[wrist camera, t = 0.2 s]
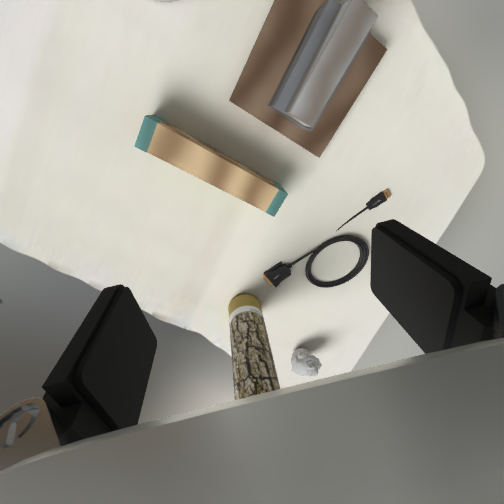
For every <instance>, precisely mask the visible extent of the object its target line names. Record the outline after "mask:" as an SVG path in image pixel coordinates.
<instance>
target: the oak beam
mask: <svg viewBox="0 0 504 504" xmlns="http://www.w3.org/2000/svg"><path fill="white" fill-rule="evenodd" d="M135 147H137V148H139V149H141V150H143V151H145V152H148V153H150V154H152V155H154V156H156V157H158V158H160V159H162V160H164V161H166V162H168V163H170V164H172V165H173V166H175V167H177V168H179V169H181V170H183V171H185V172H187V173H189V174H191V175H193V176H195V177H197V178H199V179H201V180H203V181H205V182H207V183H209V184H211V185H213V186H215V187H217V188H219V189H221V190H223V191H225V192H227V193H229V194H231V195H233V196H235V197H237V198H239V199H241V200H243V201H245V202H247V203H249V204H251V205H253V206H255V207H257V208H259V209H261V210H263V211H265V212H266V213H268V214H270V215H272V216H275V215H276V213H277V211H278V210H279V208H280V206H281V205H282V203H283V202H284V200H285V198H286V197H287V195H288V194H287V193H286V191H285V190H284V189H283V188H282V187H281V186H280V185H279V184H277V183H275V182H272V181H271V180H269V179H267V178H265V177H263V176H262V175H260V174H258V173H256V172H254V171H253V170H251V169H249V168H247V167H245V166H244V165H242V164H240V163H238V162H236V161H235V160H233V159H231V158H229V157H227V156H226V155H224V154H222V153H220V152H218V151H217V150H215V149H213V148H211V147H209V146H208V145H206V144H204V143H202V142H200V141H199V140H197V139H195V138H193V137H191V136H190V135H188V134H186V133H184V132H182V131H181V130H179V129H177V128H175V127H173V126H172V125H170V124H168V123H166V122H164V121H163V120H162V119H160V118H158V117H156V116H154V115H147V116H145V117H144V120H143V123H142V126H141V129H140V132H139V135H138V137H137V140H136V143H135Z"/></svg>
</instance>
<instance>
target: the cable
mask: <svg viewBox="0 0 504 504" xmlns="http://www.w3.org/2000/svg"><path fill="white" fill-rule="evenodd" d="M390 196H391V195H390V193H389V190H388V189H386V190H385V191H383V192H380V193H379V194H378V195H376V196H375V197H373V198H372V199H371V200H370V201H369V202H368V203H367V204H366V205H367V207H366V208H364V209H363V210H362V211H360V212H359V213H357V214H356V215H355V216H353V217H352V218H351V219H349V220H348V221H347V222H346V223H348V222H349V221H350V220H352V219H353V218H355V217H356V216H358V215H359V214H360V213H362V212H363V211H365V210H366V209H369V210H371V209H372V208H375V207H377V206H379V205H380V204H381V203H383V202H385V201H386V200H387V199H388V198H389V197H390ZM369 205H370V206H369ZM370 207H371V208H370ZM346 223H344V224H343V225H345V224H346ZM343 225H342V226H343ZM342 226H341V227H342ZM341 227H340V228H341ZM340 228H339V229H340ZM339 229H338V230H339ZM339 241H351V242H354V243H355V244H356V245H357V246H358V247H359V249H360V258H359V261H358V263H357V265H356V267H355V268H354V269H353V270H352V271H351V272H350V273H349V274H348V275H346V276H344V277H343V278H341V279H339V280H336V281H332V282H321V281H318V280H316V279H315V278H314V277H313V276H312V274H311V265H312V262H313V260H314V258H315V257H316V256H317V254H318V253H319V252H320V251H321V250H323V249H324V248H325V247H327V246H329V245H331V244H333V243H336V242H339ZM365 247H366V248H365ZM366 251H367V253H366ZM312 253H313V254H312ZM310 254H312V255H311V256H310V258H309V260H308V262H307V264H306V269H305V272H306V276H307V278H308V280H309V281H310V282H311V283H312V284H314V285H316V286H319V287H334V286H337V285H340V284H343V283H345V282H347V281H349V280H350V279H352V278H353V277H355V276H356V275H357V274H358V273H359V272H360V271H361V270H362V269H363V267H364V266H365V264H366V262H367V260H368V256H369V249H368V246H367V244H366V243H365V242H364V241H363V240H362V239H360V238H358V237H354V236H349V235H343V236H338V237H334V238H332V239H330V240H328V241H326V242H324V243H323V244H322V245H320V246H319V247H318V248H317V249H315V250H313V251H311V252H310V253H308V254H306V255H305V256H303V257H301V258H300V259H298V260H296V261H295V262H293V263H292V264H289V265H287V264H282V262H280V263H278V264H276V265H275V266H273V267H272V268H270V269H269V270H267V271H265V272H264V276H263V277H264V279H265V280H266V281H267V282H268V283H269V285H270V286H271V285H274V286H275V287H277V286H278V285H279V283H280V282H281V281H282V280H284V279H285V278H287V277H288V276H290V275H291V273H290V272H291V271H290V268H291V267H292V265H294V264H295V263H297V262H298V261H300V260H302V259H303V258H305V257H307V256H308V255H310Z"/></svg>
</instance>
